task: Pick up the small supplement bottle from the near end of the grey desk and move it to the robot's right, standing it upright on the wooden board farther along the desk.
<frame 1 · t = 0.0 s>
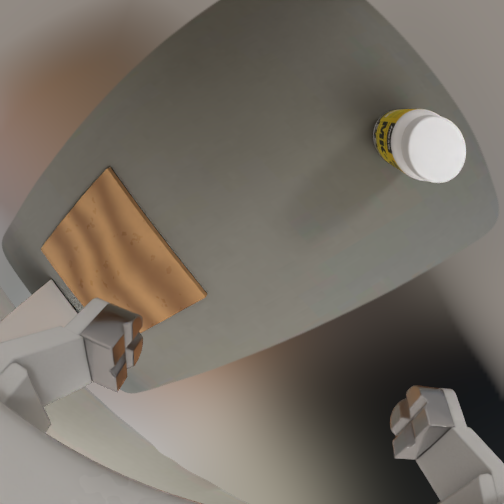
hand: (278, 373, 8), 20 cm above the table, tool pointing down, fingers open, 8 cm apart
wooden board: (112, 268, 32), on the table
milk carton: (58, 307, 37), on the table
supplement bottle: (398, 137, 22), on the table
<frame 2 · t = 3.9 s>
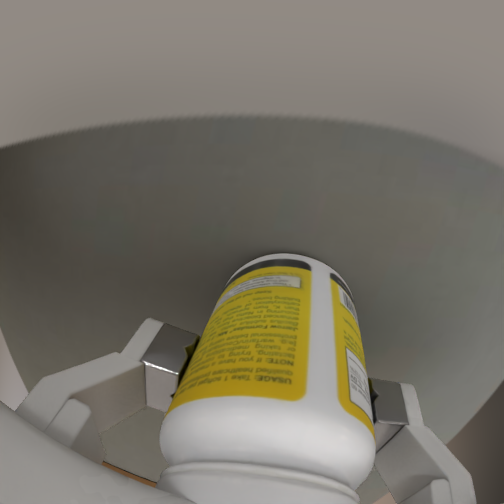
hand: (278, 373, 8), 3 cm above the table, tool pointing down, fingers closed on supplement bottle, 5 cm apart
supplement bottle: (288, 307, 11), on the table, touching gripper
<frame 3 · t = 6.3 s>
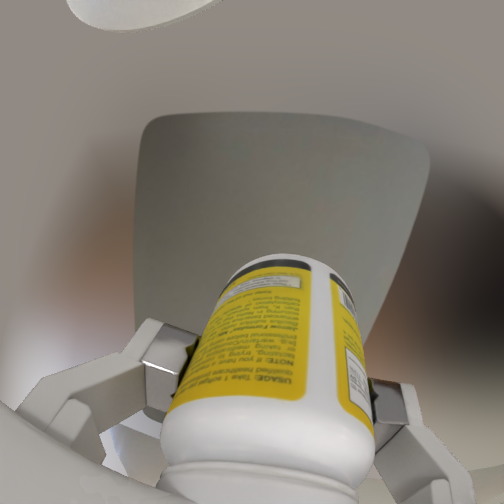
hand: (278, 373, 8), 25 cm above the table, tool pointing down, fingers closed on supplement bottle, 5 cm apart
supplement bottle: (288, 307, 11), point 21 cm above the table, touching gripper
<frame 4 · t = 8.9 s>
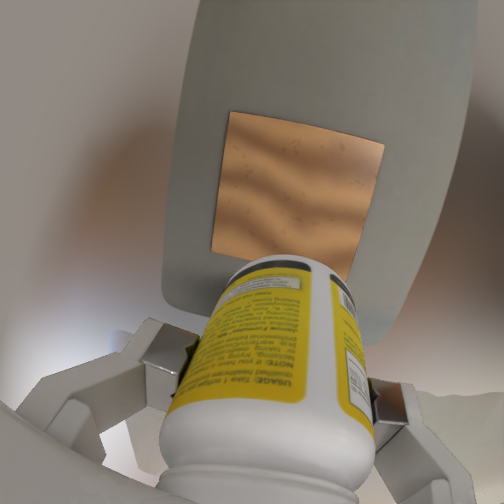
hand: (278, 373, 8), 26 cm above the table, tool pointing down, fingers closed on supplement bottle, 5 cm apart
wooden board: (293, 198, 33), on the table
supplement bottle: (288, 308, 11), point 23 cm above the table, touching gripper
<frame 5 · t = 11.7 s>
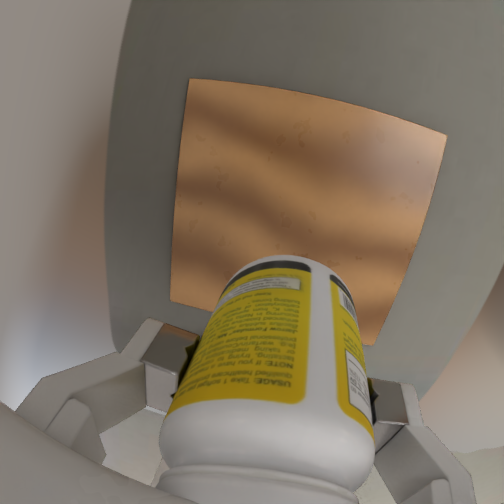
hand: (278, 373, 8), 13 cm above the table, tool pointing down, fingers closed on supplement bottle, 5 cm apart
wooden board: (297, 222, 20), on the table
supplement bottle: (288, 309, 11), point 10 cm above the table, touching gripper
when the fingers open (4 cm above the table, at t = 14.2 s): supplement bottle stays where it is, resting on wooden board.
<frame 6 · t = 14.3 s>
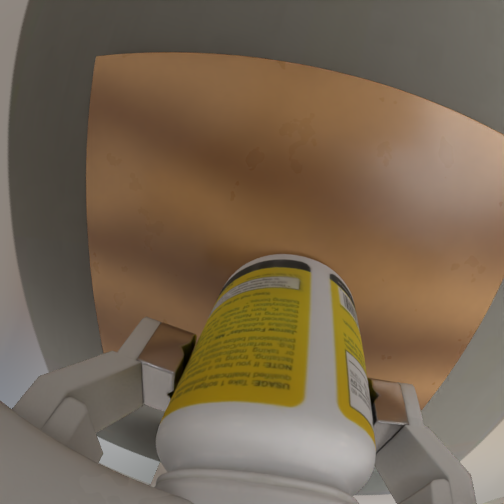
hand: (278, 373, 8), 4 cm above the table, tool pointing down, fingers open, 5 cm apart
wooden board: (286, 303, 11), on the table
supplement bottle: (287, 308, 11), resting on wooden board
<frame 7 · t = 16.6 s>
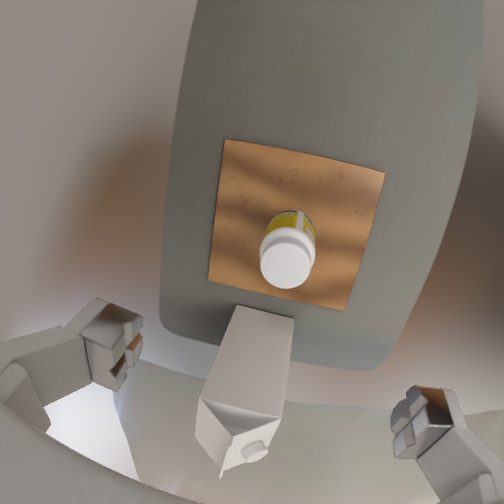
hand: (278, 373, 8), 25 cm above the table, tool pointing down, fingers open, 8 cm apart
wooden board: (291, 228, 32), on the table
milk carton: (260, 332, 39), on the table
supplement bottle: (291, 230, 32), resting on wooden board
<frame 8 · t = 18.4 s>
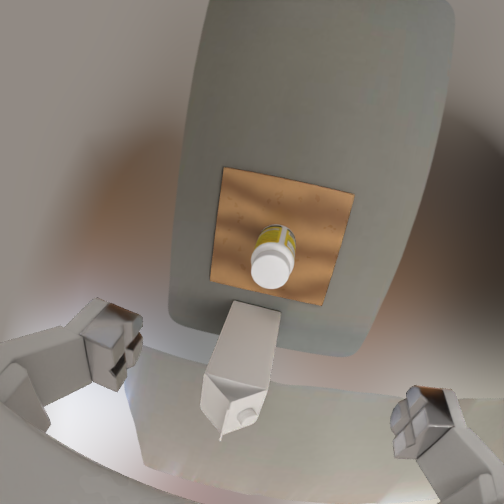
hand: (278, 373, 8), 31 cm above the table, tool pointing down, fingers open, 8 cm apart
wooden board: (277, 239, 40), on the table
milk carton: (253, 323, 47), on the table
supplement bottle: (277, 240, 40), resting on wooden board
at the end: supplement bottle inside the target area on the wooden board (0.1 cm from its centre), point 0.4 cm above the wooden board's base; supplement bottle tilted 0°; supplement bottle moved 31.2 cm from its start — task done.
